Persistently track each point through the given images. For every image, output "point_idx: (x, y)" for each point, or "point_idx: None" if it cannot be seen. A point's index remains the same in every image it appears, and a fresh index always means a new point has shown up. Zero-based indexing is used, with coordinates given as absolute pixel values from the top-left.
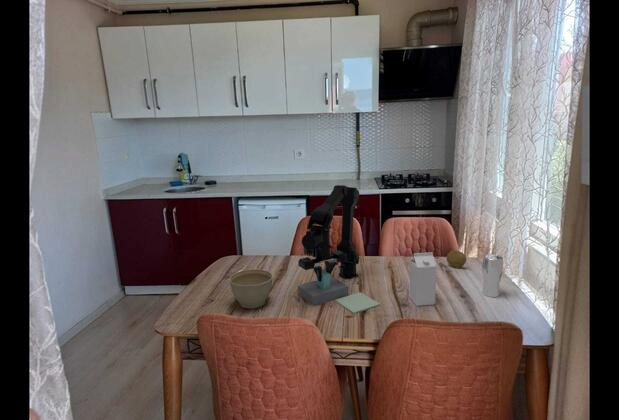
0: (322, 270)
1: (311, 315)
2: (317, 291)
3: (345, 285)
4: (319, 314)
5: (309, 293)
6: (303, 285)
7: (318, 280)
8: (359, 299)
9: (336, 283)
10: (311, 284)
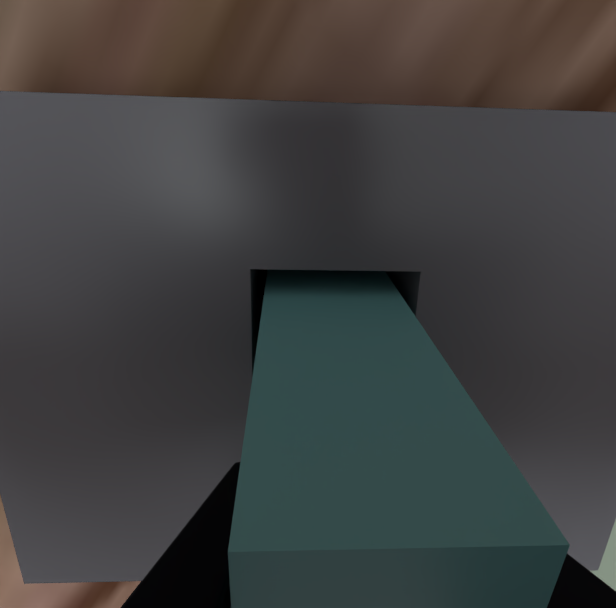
0: (466, 605)
1: (7, 590)
2: (147, 504)
3: (591, 536)
4: (81, 605)
5: (7, 498)
6: (11, 175)
7: (229, 473)
8: None
9: (555, 426)
10: (182, 227)
